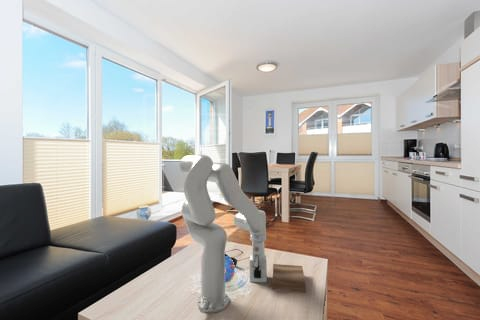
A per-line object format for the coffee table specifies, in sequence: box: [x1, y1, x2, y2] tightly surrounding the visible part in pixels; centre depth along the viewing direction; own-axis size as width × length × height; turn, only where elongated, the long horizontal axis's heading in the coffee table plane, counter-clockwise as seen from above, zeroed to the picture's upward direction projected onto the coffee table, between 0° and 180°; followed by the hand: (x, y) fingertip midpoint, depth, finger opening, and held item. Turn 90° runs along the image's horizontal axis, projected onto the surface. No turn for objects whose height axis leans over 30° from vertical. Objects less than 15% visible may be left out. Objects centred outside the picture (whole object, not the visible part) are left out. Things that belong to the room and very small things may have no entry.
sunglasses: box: [225, 248, 250, 268], centre depth 128 cm, size 14×16×5 cm
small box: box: [248, 254, 268, 283], centre depth 107 cm, size 8×6×10 cm
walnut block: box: [272, 263, 307, 293], centre depth 105 cm, size 14×14×5 cm
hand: (258, 273), depth 108 cm, fingers closed on small box, 5 cm apart
